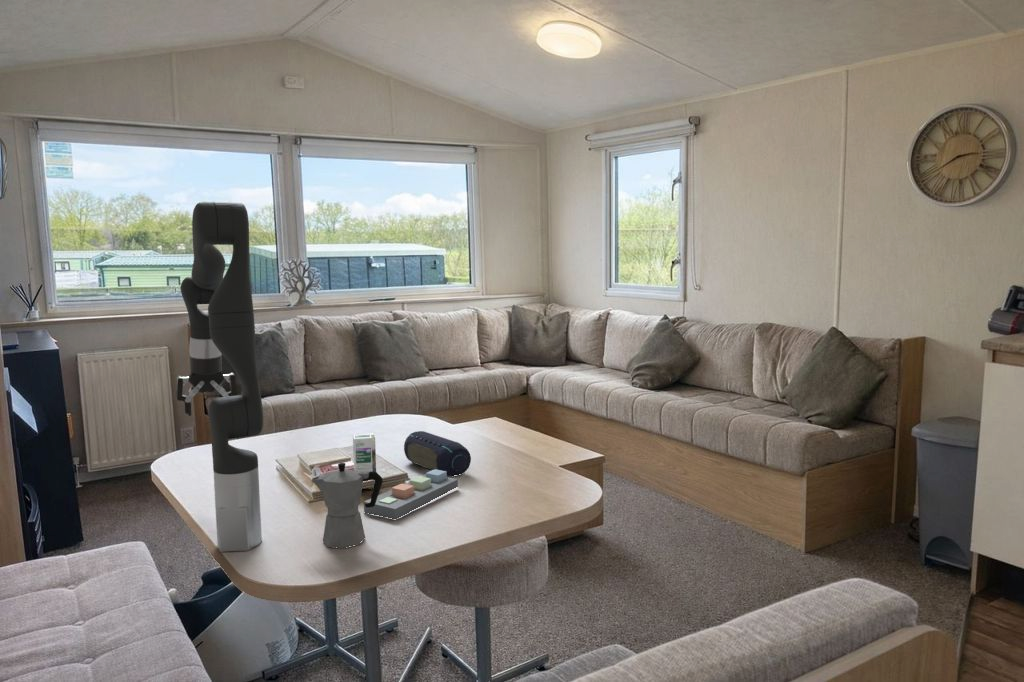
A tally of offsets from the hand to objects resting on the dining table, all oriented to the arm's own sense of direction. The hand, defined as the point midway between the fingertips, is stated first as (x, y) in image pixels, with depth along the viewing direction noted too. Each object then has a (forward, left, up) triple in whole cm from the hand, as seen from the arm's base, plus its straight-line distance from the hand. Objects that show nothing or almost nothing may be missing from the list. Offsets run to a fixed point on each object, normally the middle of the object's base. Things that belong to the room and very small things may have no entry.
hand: (207, 413), depth 187 cm
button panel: (-10, -53, -22) cm, 59 cm away
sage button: (-7, -55, -21) cm, 59 cm away
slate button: (-2, -59, -21) cm, 63 cm away
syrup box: (+3, -40, -23) cm, 46 cm away
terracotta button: (-13, -51, -21) cm, 57 cm away
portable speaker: (+17, -59, -23) cm, 66 cm away
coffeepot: (-34, -40, -23) cm, 57 cm away
